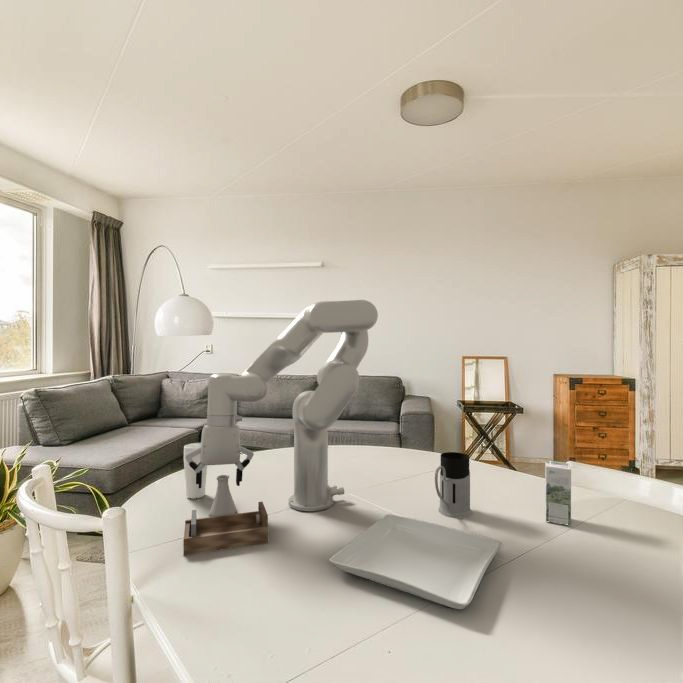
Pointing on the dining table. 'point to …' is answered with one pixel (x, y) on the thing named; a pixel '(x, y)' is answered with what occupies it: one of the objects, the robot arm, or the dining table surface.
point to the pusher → (193, 523)
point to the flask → (222, 499)
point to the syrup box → (558, 492)
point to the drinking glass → (193, 474)
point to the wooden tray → (227, 532)
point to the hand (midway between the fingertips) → (219, 485)
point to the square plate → (420, 559)
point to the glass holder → (454, 485)
